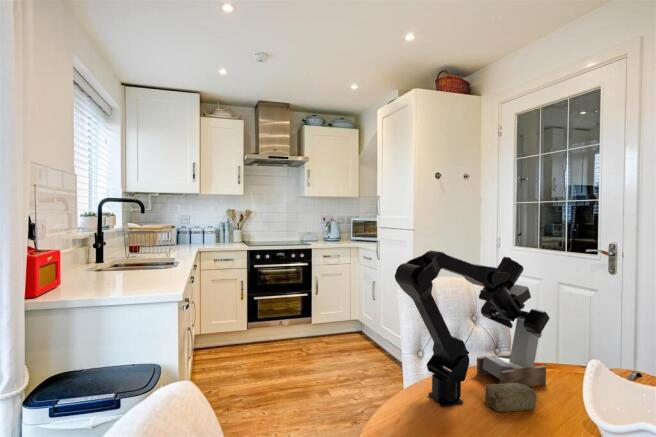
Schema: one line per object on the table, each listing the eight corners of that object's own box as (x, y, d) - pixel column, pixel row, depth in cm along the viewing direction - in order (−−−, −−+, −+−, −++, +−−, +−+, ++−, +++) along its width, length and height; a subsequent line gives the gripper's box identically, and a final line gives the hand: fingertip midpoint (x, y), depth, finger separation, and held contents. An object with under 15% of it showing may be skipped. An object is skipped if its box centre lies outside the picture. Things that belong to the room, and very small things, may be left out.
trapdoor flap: (500, 379, 101) (502, 366, 101) (481, 367, 108) (483, 355, 108) (539, 383, 104) (542, 370, 104) (518, 371, 112) (520, 359, 112)
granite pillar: (523, 367, 104) (531, 323, 105) (509, 360, 108) (517, 318, 109) (533, 367, 106) (541, 324, 107) (519, 361, 110) (526, 319, 111)
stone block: (538, 411, 89) (538, 391, 89) (495, 414, 88) (495, 394, 88) (522, 399, 95) (522, 380, 95) (482, 402, 93) (482, 383, 93)
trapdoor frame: (502, 390, 99) (502, 372, 99) (476, 373, 109) (476, 357, 109) (545, 384, 103) (546, 366, 103) (517, 368, 113) (517, 352, 113)
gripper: (546, 282, 97) (569, 318, 102) (487, 272, 113) (510, 303, 119) (526, 315, 93) (551, 350, 98) (469, 299, 110) (493, 330, 115)
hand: (525, 331), depth 108 cm, fingers open, 9 cm apart
